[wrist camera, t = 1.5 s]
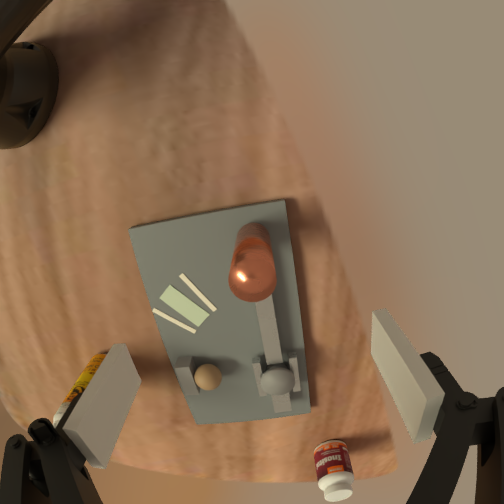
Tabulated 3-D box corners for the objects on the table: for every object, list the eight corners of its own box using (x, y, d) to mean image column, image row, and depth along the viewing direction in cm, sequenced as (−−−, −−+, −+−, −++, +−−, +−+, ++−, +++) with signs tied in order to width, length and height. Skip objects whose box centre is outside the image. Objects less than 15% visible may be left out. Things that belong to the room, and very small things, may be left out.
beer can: (117, 349, 42) (75, 420, 27) (134, 380, 43) (101, 453, 29) (86, 352, 42) (41, 417, 28) (103, 382, 44) (67, 449, 30)
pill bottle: (336, 434, 47) (348, 483, 37) (351, 447, 49) (363, 493, 38) (306, 448, 48) (313, 497, 38) (323, 460, 50) (331, 506, 39)
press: (131, 226, 36) (115, 237, 31) (283, 198, 35) (288, 206, 30) (197, 419, 46) (193, 440, 41) (309, 407, 45) (313, 429, 40)
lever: (301, 400, 42) (311, 462, 31) (263, 405, 43) (264, 468, 32) (276, 218, 34) (286, 252, 23) (224, 226, 34) (210, 264, 23)
